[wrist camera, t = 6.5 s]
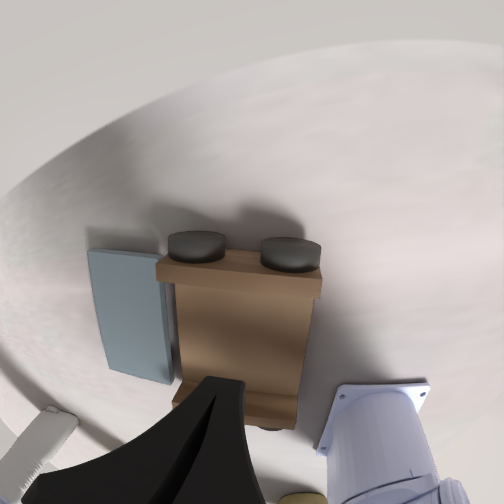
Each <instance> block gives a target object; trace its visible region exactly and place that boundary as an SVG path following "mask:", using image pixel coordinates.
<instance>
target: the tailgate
mask: <svg viewBox="0 0 504 504" xmlns="http://www.w3.org/2000/svg"><path fill="white" fill-rule="evenodd" d="M87 255H88V263H89V271H90V278H91V285H92V291H93V297H94V303H95V308H96V313H97V319H98V323H99V328H100V333H101V337H102V341H103V346H104V350H105V354H106V358H107V361H108V365H109V369H112V370H115V371H118V372H122V373H125V374H128V375H132V376H136V377H139V378H143V379H147V380H151V381H155V382H159V383H163V384H167V385H171V384H172V383H173V381H174V372H173V364H172V357H171V348H170V339H169V330H168V320H167V308H166V296H165V282H159V281H156V268H155V263H156V262H158V261H159V260H160V259H162V258H163V255H158V254H148V253H138V252H128V251H118V250H108V249H99V248H93V249H90V250H88V251H87Z"/></svg>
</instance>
